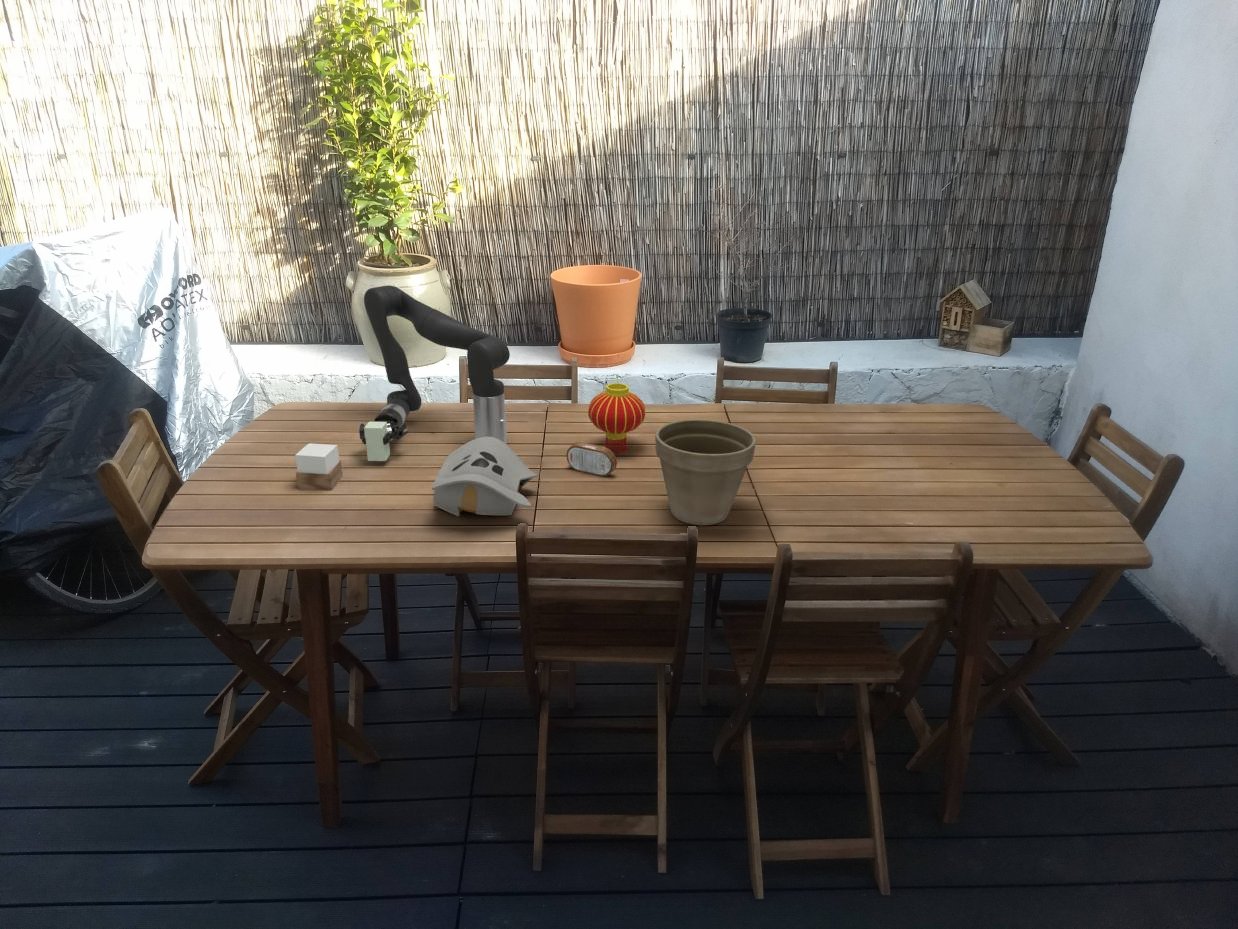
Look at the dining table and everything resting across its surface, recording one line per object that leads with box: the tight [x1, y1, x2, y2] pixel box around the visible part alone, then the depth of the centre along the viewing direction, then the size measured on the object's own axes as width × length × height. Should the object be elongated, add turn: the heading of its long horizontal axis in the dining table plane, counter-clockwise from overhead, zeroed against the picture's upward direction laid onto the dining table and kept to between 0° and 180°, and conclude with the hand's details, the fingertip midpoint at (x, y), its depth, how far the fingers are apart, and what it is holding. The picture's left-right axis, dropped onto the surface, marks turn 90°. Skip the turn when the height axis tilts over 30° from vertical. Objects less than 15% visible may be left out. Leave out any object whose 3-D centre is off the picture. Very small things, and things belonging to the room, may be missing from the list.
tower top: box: [294, 442, 340, 474], centre depth 214 cm, size 8×8×5 cm
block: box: [364, 421, 391, 462], centre depth 227 cm, size 5×5×10 cm
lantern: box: [587, 353, 646, 454], centre depth 237 cm, size 17×17×30 cm
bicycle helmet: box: [430, 437, 540, 517], centre depth 205 cm, size 28×26×16 cm
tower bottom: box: [295, 459, 343, 491], centre depth 216 cm, size 9×9×5 cm
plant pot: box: [654, 418, 757, 526], centre depth 202 cm, size 25×25×22 cm
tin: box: [565, 441, 618, 477], centre depth 226 cm, size 15×3×8 cm, turn 65°
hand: (374, 441), depth 224 cm, fingers closed on block, 5 cm apart
